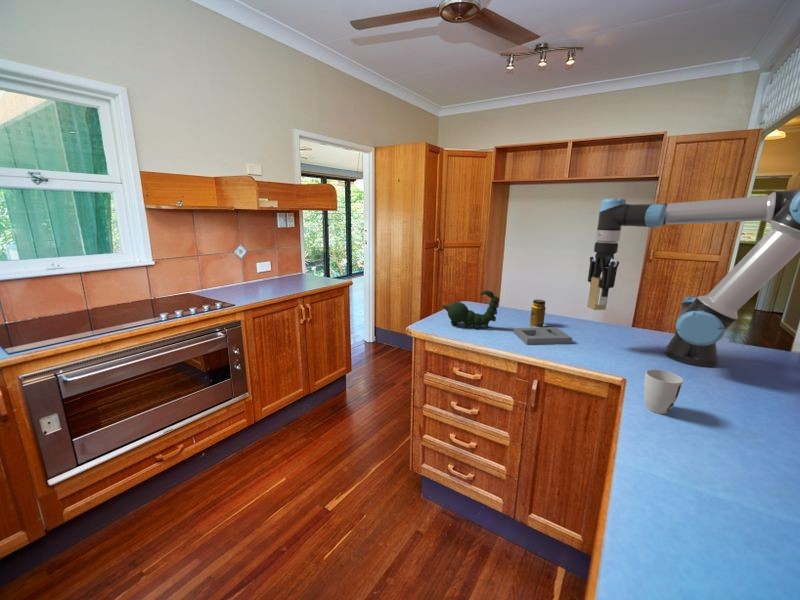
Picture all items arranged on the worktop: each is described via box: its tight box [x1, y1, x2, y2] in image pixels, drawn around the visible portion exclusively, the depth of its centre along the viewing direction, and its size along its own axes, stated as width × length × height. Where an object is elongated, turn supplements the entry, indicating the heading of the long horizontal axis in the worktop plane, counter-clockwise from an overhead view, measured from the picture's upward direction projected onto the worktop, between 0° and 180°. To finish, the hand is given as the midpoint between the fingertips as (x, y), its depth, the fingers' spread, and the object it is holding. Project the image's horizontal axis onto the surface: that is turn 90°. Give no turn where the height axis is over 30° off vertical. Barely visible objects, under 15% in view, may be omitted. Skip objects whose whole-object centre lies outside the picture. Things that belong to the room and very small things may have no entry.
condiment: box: [529, 298, 551, 328], centre depth 162 cm, size 7×8×12 cm
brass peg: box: [587, 276, 610, 311], centre depth 133 cm, size 4×4×12 cm
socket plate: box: [513, 326, 573, 345], centre depth 147 cm, size 13×19×2 cm
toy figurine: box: [441, 290, 500, 330], centre depth 158 cm, size 9×19×25 cm
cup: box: [643, 368, 684, 415], centre depth 94 cm, size 8×8×10 cm
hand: (597, 302), depth 134 cm, fingers closed on brass peg, 4 cm apart
